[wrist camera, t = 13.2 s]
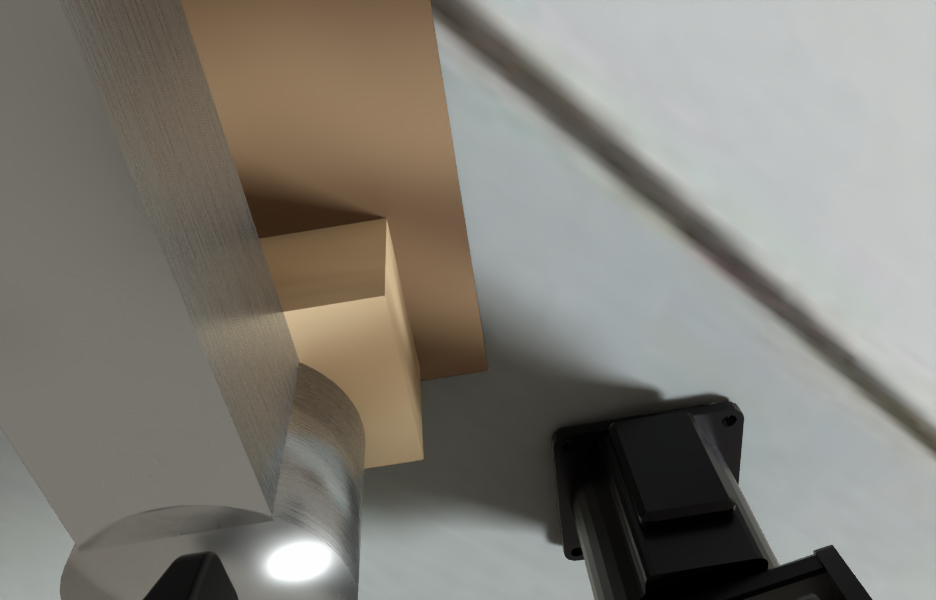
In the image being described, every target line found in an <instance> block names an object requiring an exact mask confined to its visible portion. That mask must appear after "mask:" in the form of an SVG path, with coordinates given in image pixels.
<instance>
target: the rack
mask: <svg viewBox="0 0 936 600" xmlns="http://www.w3.org/2000/svg"><path fill="white" fill-rule="evenodd" d="M181 4H182V7H183V10H184V13H185V16H186V19H187V22H188V25H189V28H190V31H191V34H192V37H193V40H194V43H195V46H196V49H197V52H198V55H199V58H200V61H201V64H202V67H203V70H204V73H205V76H206V79H207V82H208V85H209V88H210V91H211V94H212V97H213V100H214V104H215V107H216V110H217V113H218V116H219V119H220V122H221V125H222V128H223V131H224V134H225V137H226V140H227V143H228V146H229V149H230V152H231V155H232V158H233V161H234V164H235V167H236V170H237V173H238V176H239V179H240V182H241V185H242V188H243V191H244V194H245V197H246V200H247V204H248V207H249V210H250V213H251V216H252V219H253V222H254V225H255V228H256V231H257V234H258V237H259V240H260V243H261V246H262V249H263V252H264V255H265V258H266V261H267V264H268V267H269V270H270V273H271V276H272V279H273V282H274V285H275V288H276V291H277V294H278V297H279V300H280V304H281V307H282V310H283V313H284V316H285V319H286V322H287V325H288V328H289V331H290V334H291V337H292V340H293V343H294V346H295V349H296V352H297V355H298V358H299V361H300V363H303V364H305V365H307V366H309V367H311V368H313V369H315V370H317V371H318V372H320V373H322V374H323V375H325V376H326V377H327V378H329V379H330V380H332V381H333V382H334V383H335V384H336V385H337V386H339V387H340V388H341V389H342V390H343V391H344V392H345V393H346V395H347V396H348V397H349V399H350V400H351V401H352V402H353V404H354V406H355V407H356V409H357V411H358V413H359V415H360V418H361V420H362V423H363V427H364V432H365V463H364V469H368V468H374V467H380V466H387V465H393V464H399V463H405V462H412V461H418V460H424V454H423V430H422V407H421V384H420V381H425V380H431V379H437V378H443V377H450V376H456V375H462V374H468V373H475V372H481V371H487V370H488V364H487V358H486V351H485V345H484V339H483V332H482V326H481V320H480V313H479V307H478V301H477V294H476V288H475V282H474V275H473V269H472V263H471V256H470V250H469V244H468V237H467V231H466V225H465V218H464V212H463V205H462V199H461V193H460V186H459V180H458V174H457V167H456V161H455V155H454V148H453V142H452V136H451V129H450V123H449V117H448V110H447V104H446V98H445V91H444V85H443V79H442V72H441V66H440V60H439V53H438V47H437V41H436V34H435V28H434V22H433V15H432V9H431V3H430V0H181Z"/></svg>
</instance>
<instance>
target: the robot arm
mask: <svg viewBox="0 0 936 600" xmlns="http://www.w3.org/2000/svg"><path fill="white" fill-rule="evenodd" d="M729 415H730V416H729ZM726 416H729V417H728V418H725V417H726ZM724 418H725V419H724ZM743 424H744V416H743V413H742V412H741V410H740V408H739V407H738V406H737V405H736V404H735V403H733V402H723V403H716V404H710V405H704V406H698V407H691V408H685V409H679V410H673V411H666V412H660V413H654V414H648V415H641V416H635V417H629V418H623V419H616V420H610V421H604V422H597V423H591V424H585V425H579V426H572V427H566V428H562V429H559V430H558V431H556V432H555V433H554V434H553V436H552V439H551V443H552V453H553V462H554V472H555V481H556V491H557V500H558V509H559V519H560V528H561V538H562V546H563V551H564V555H565V557H566V558H567V559H569V560H573V561H576V560H585V564H586V568H587V572H588V576H589V580H590V583H591V587H592V591H593V595H594V599H595V600H872V598H871V597H870V596H869V594H868V593H867V592H866V590H865V589H864V587H863V586H862V585H861V583H860V582H859V581H858V579H857V578H856V576H855V575H854V574H853V572H852V571H851V570H850V568H849V567H848V566H847V564H846V563H845V561H844V560H843V559H842V557H841V556H840V555H839V553H838V552H837V550H836V549H835V548H834V546H833V545H829V546H826V547H823V548H820V549H817V550H814V551H813V553H814V554H813V555H810V556H807V557H804V558H801V559H798V560H795V561H792V562H789V563H786V564H783V565H779V563H778V561H777V559H776V558H775V556H774V554H773V552H772V550H771V548H770V546H769V544H768V542H767V540H766V538H765V536H764V534H763V532H762V530H761V528H760V527H759V525H758V523H757V521H756V519H755V517H754V515H753V513H752V511H751V509H750V507H749V505H748V503H747V501H746V499H745V497H744V496H743V494H742V492H741V490H740V488H739V486H738V483H739V471H740V459H741V447H742V435H743ZM566 441H571V442H570V443H568V444H563V443H564V442H566ZM142 600H239V599H238V595H237V592H236V590H235V588H234V586H233V584H232V582H231V580H230V578H229V576H228V574H227V572H226V570H225V568H224V566H223V564H222V562H221V560H220V558H219V556H218V555H217V554H216V553H215V552H213V551H204V552H198V553H191V554H185V555H182V556H179V557H178V558H177V559H175V560H174V561H173V562H172V563H171V565H170V566H169V567H168V568H167V570H166V571H165V572H164V573H163V575H162V576H161V577H160V578H159V580H158V581H157V582H156V583H155V585H154V586H153V587H152V588H151V589H150V591H149V592H148V593H147V594H146V596H145V597H144V598H143V599H142Z"/></svg>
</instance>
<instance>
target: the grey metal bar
mask: <svg viewBox="0 0 936 600" xmlns="http://www.w3.org/2000/svg"><path fill="white" fill-rule="evenodd" d="M0 428H1V429H2V431H3V432H4V434H5V435H6V437H7V438H8V440H9V442H10V443H11V445H12V446H13V448H14V449H15V451H16V452H17V454H18V455H19V457H20V459H21V460H22V462H23V463H24V465H25V466H26V468H27V469H28V471H29V472H30V474H31V476H32V477H33V479H34V480H35V482H36V483H37V485H38V486H39V488H40V490H41V491H42V493H43V494H44V496H45V497H46V499H47V500H48V502H49V503H50V505H51V507H52V508H53V510H54V511H55V513H56V514H57V516H58V517H59V519H60V520H61V522H62V524H63V525H64V527H65V528H66V530H67V531H68V533H69V534H70V536H71V537H72V539H73V541H74V542H75V545H74V547H73V549H72V551H71V554H70V556H69V558H68V560H67V563H66V565H65V567H64V570H63V574H62V577H61V584H60V595H61V600H142V599H143V598H144V597H145V596H146V594H147V593H148V592H149V591H150V589H151V588H152V587H153V586H154V585H155V583H156V582H157V581H158V580H159V578H160V577H161V576H162V575H163V573H164V572H165V571H166V570H167V568H168V567H169V566H170V565H171V563H172V562H173V561H174V560H175V559H177V558H178V557H179V556H182V555H185V554H191V553H198V552H204V551H213V552H215V553H216V554H217V555H218V556H219V558H220V560H221V562H222V564H223V566H224V568H225V570H226V572H227V574H228V576H229V578H230V580H231V582H232V584H233V586H234V588H235V590H236V592H237V595H238V599H239V600H358V582H359V562H360V542H361V522H362V503H363V483H364V463H365V432H364V427H363V423H362V420H361V418H360V415H359V413H358V411H357V409H356V407H355V406H354V404H353V402H352V401H351V400H350V399H349V397H348V396H347V395H346V393H345V392H344V391H343V390H342V389H341V388H340V387H339V386H337V385H336V384H335V383H334V382H333V381H332V380H330V379H329V378H327V377H326V376H325V375H323V374H322V373H320V372H318V371H317V370H315V369H313V368H311V367H309V366H307V365H305V364H303V363H300V361H299V358H298V355H297V352H296V349H295V346H294V343H293V340H292V337H291V334H290V331H289V328H288V325H287V322H286V319H285V316H284V313H283V310H282V307H281V304H280V300H279V297H278V294H277V291H276V288H275V285H274V282H273V279H272V276H271V273H270V270H269V267H268V264H267V261H266V258H265V255H264V252H263V249H262V246H261V243H260V240H259V237H258V234H257V231H256V228H255V225H254V222H253V219H252V216H251V213H250V210H249V207H248V204H247V200H246V197H245V194H244V191H243V188H242V185H241V182H240V179H239V176H238V173H237V170H236V167H235V164H234V161H233V158H232V155H231V152H230V149H229V146H228V143H227V140H226V137H225V134H224V131H223V128H222V125H221V122H220V119H219V116H218V113H217V110H216V107H215V104H214V100H213V97H212V94H211V91H210V88H209V85H208V82H207V79H206V76H205V73H204V70H203V67H202V64H201V61H200V58H199V55H198V52H197V49H196V46H195V43H194V40H193V37H192V34H191V31H190V28H189V25H188V22H187V19H186V16H185V13H184V10H183V7H182V4H181V0H0Z"/></svg>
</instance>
